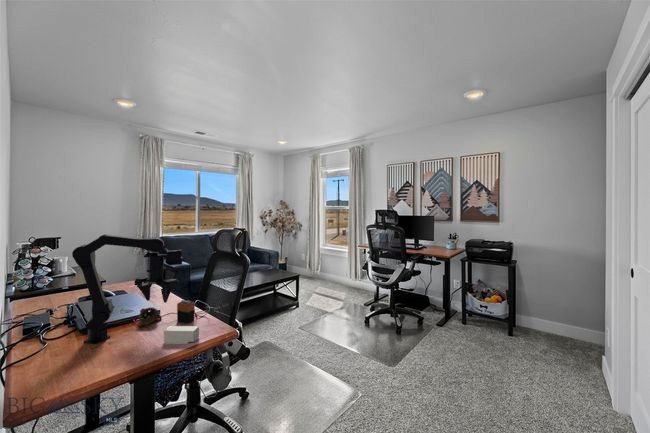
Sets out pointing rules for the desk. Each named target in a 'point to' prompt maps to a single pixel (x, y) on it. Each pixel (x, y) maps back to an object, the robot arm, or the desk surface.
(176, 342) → the felt mat
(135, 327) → the desk surface
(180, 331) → the cream block
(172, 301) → the desk surface
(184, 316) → the battery
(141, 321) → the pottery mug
